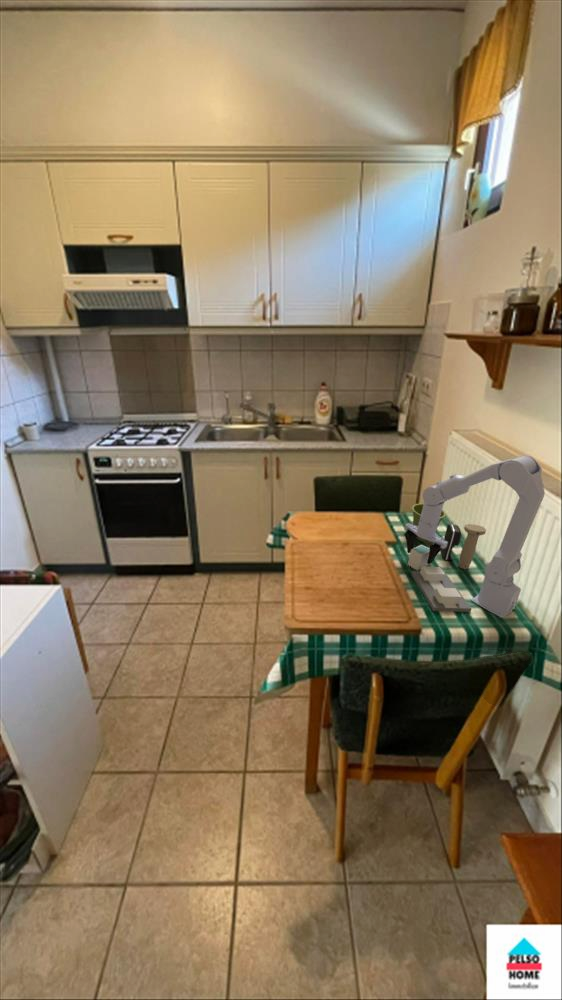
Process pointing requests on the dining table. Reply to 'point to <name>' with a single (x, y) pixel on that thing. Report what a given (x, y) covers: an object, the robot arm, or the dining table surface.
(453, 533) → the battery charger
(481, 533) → the handle
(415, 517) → the plant pot
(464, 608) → the board
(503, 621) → the dining table surface
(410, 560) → the module
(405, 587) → the dining table surface
